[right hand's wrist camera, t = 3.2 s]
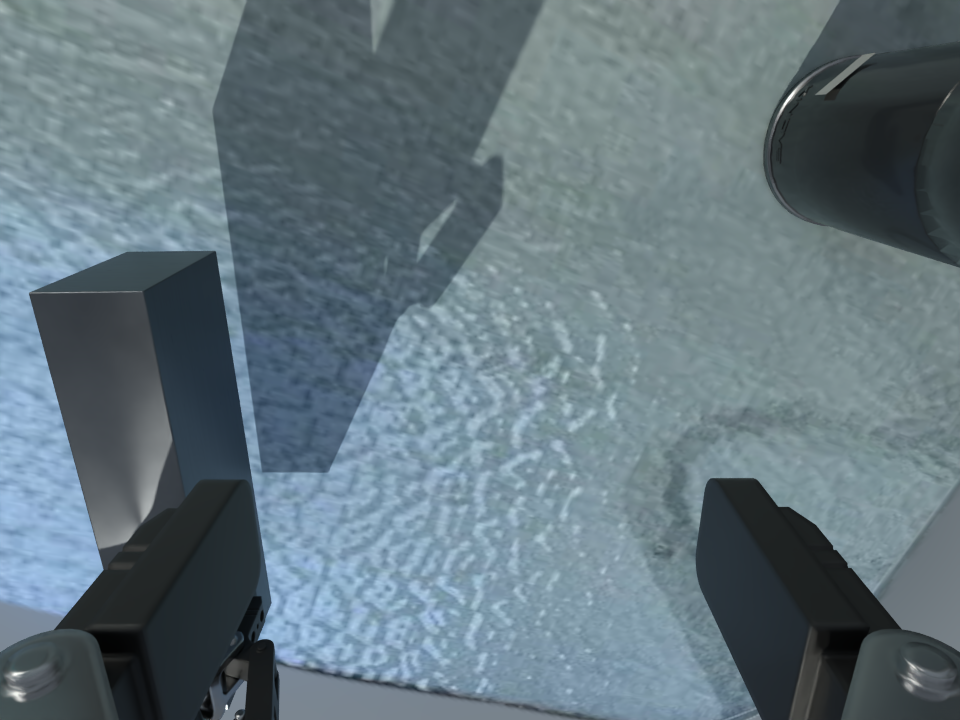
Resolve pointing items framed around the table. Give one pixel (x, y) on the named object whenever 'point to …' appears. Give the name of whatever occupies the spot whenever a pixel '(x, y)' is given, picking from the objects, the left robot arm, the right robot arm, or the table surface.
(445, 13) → the table surface
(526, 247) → the table surface
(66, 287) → the bar
